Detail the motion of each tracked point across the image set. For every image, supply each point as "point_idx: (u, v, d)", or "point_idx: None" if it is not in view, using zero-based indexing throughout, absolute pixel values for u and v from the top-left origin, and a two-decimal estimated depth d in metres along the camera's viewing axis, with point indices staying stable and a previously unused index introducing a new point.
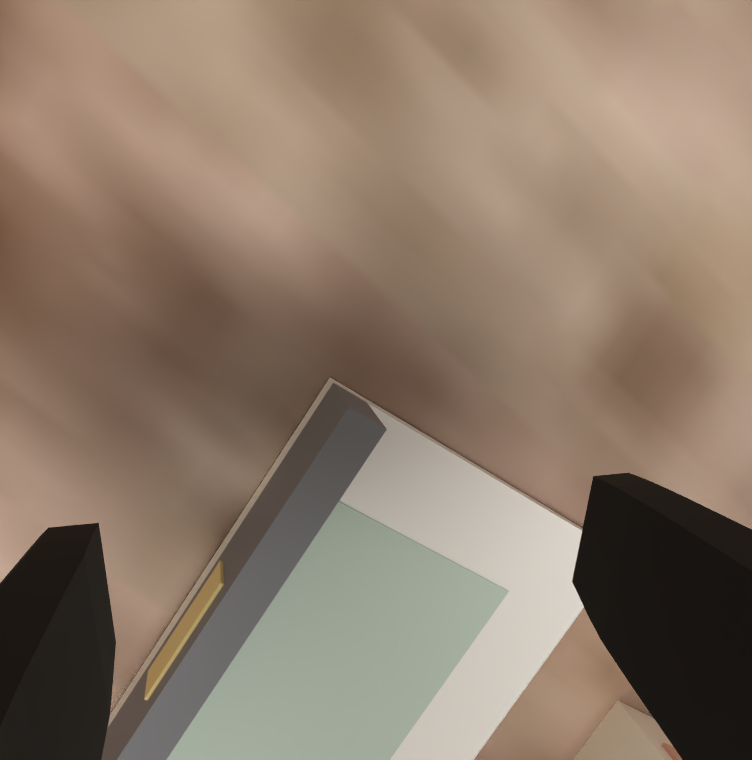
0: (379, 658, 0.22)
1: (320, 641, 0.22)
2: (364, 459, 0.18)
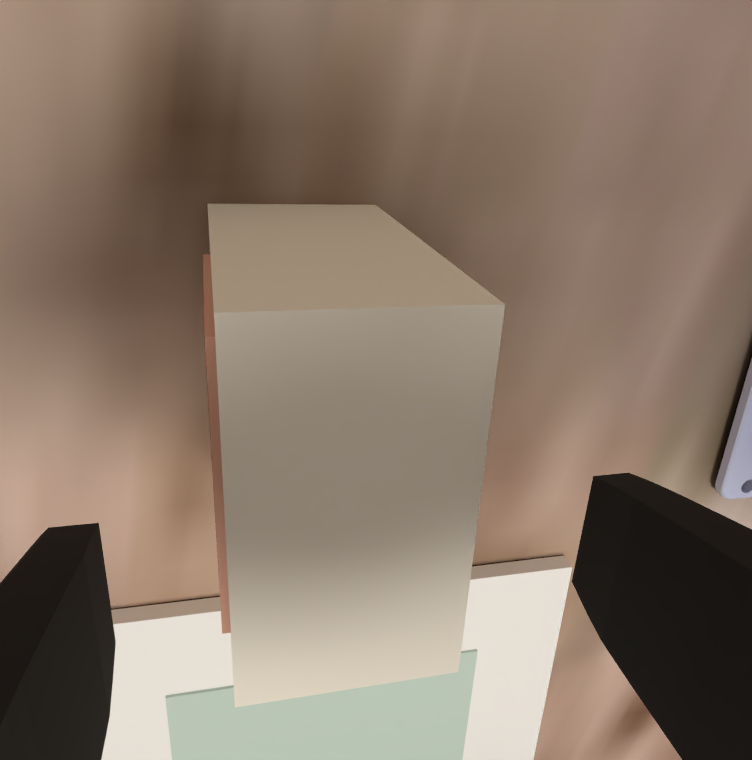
0: (298, 736, 0.22)
1: None
2: None
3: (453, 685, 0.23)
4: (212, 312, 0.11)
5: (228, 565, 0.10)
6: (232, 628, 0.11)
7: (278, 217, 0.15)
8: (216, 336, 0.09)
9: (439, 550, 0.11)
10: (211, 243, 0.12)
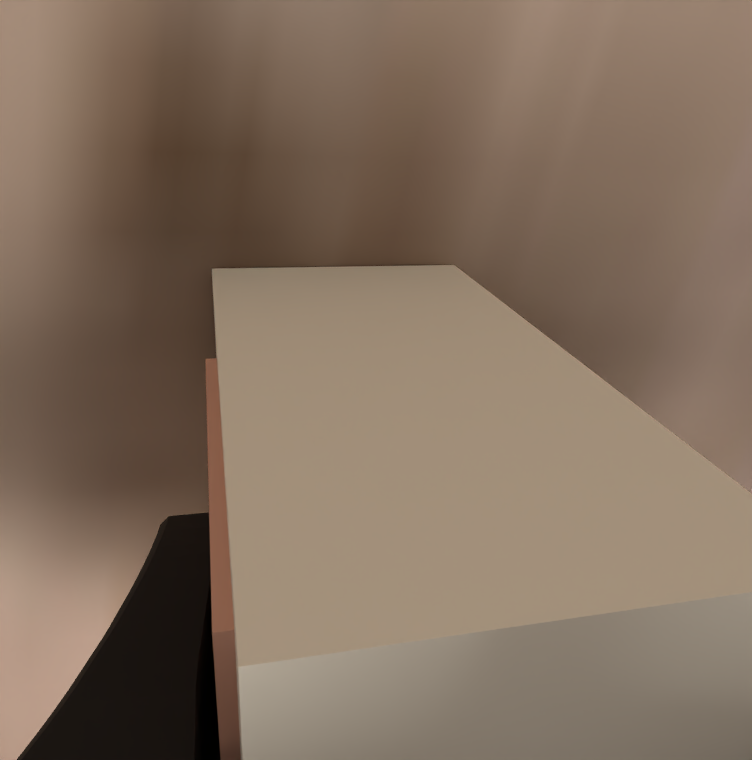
0: None
1: None
2: None
3: None
4: (225, 532, 0.06)
5: None
6: None
7: (321, 297, 0.10)
8: (243, 715, 0.04)
9: None
10: (221, 371, 0.07)
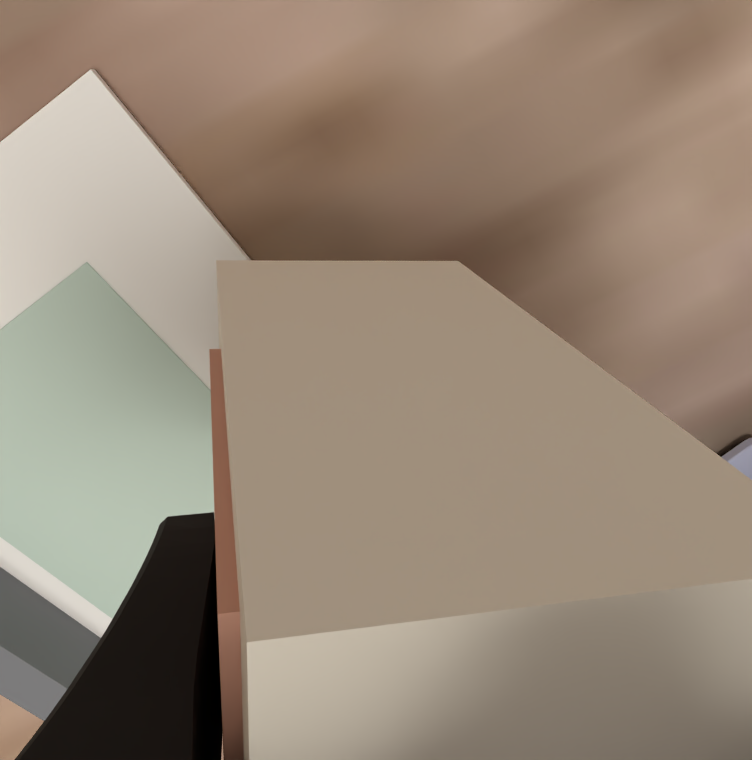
0: (122, 438, 0.18)
1: (69, 491, 0.18)
2: None
3: None
4: (231, 516, 0.06)
5: None
6: None
7: (326, 289, 0.10)
8: (251, 691, 0.04)
9: None
10: (227, 359, 0.07)
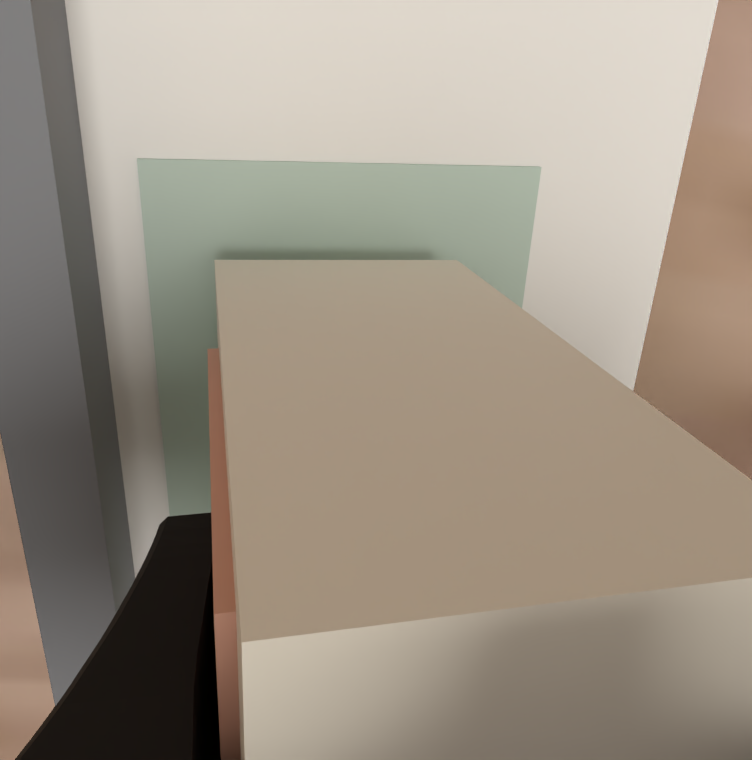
0: None
1: None
2: None
3: None
4: (227, 516, 0.06)
5: None
6: None
7: (324, 289, 0.10)
8: (246, 691, 0.04)
9: None
10: (224, 358, 0.07)
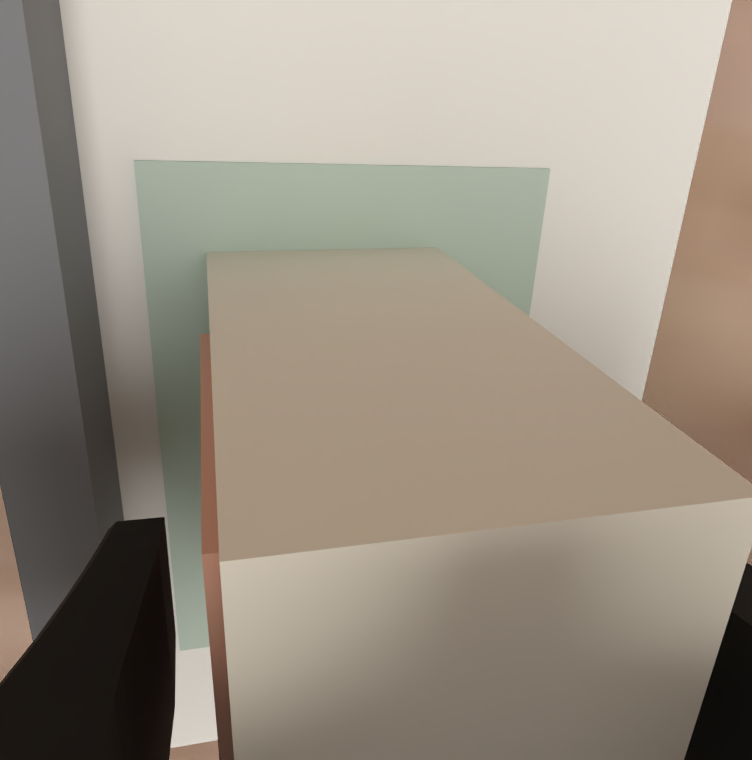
0: None
1: None
2: None
3: None
4: (215, 476, 0.06)
5: None
6: None
7: (309, 276, 0.10)
8: (225, 605, 0.04)
9: None
10: (212, 338, 0.08)
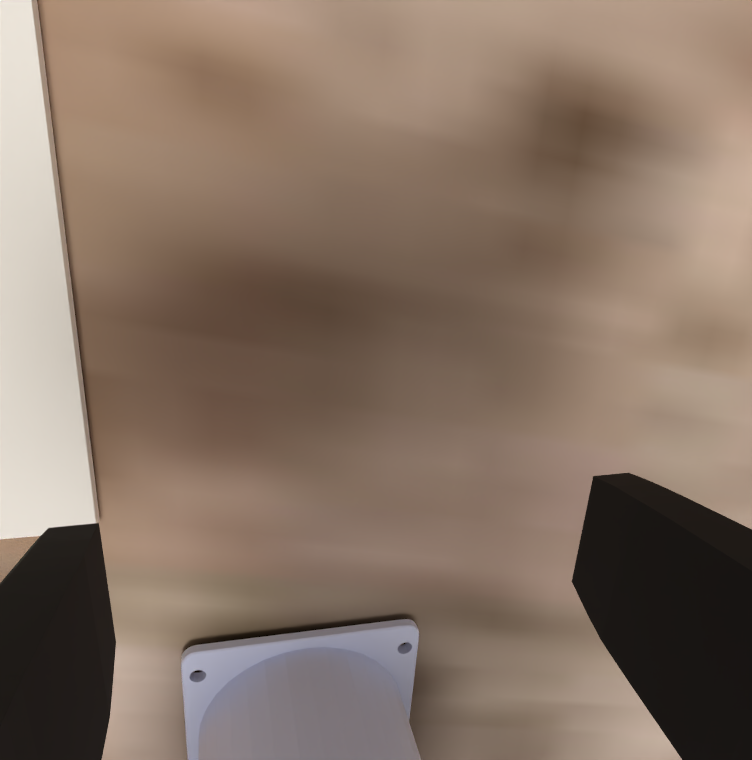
0: None
1: None
2: None
3: None
4: None
5: None
6: None
7: None
8: None
9: None
10: None
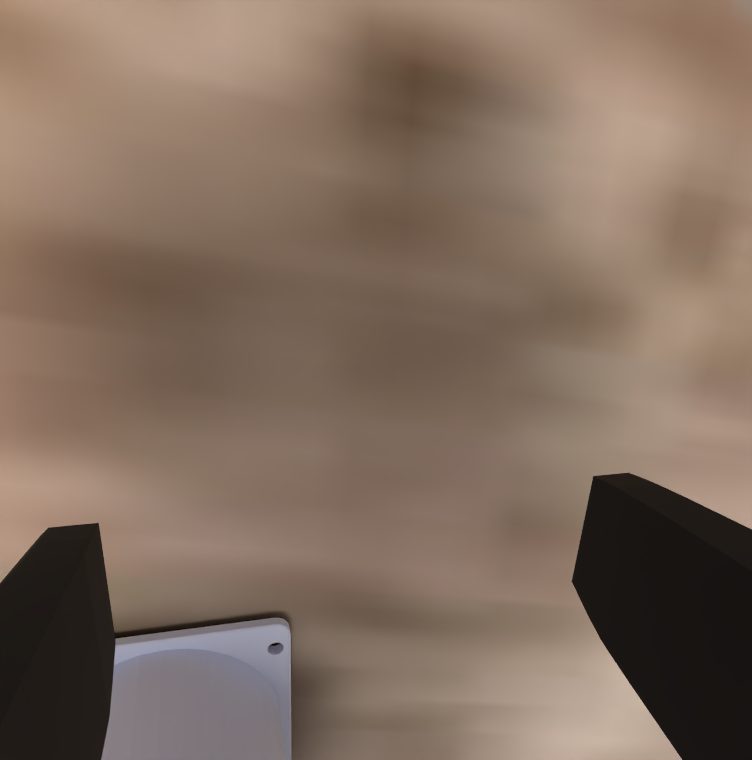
0: None
1: None
2: None
3: None
4: None
5: None
6: None
7: None
8: None
9: None
10: None
